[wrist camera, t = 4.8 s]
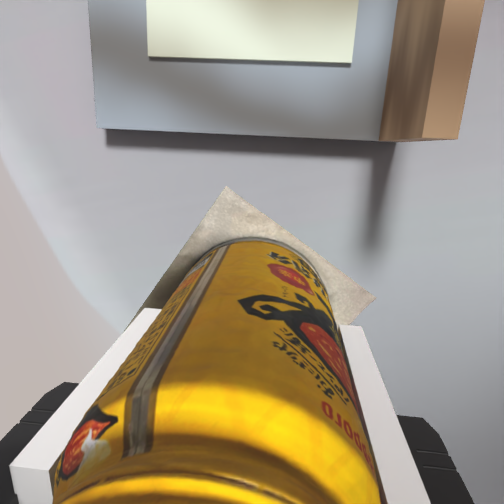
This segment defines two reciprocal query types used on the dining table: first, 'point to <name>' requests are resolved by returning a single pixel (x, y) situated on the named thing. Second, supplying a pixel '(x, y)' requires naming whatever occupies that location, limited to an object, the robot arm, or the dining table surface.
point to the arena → (285, 67)
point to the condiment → (231, 382)
